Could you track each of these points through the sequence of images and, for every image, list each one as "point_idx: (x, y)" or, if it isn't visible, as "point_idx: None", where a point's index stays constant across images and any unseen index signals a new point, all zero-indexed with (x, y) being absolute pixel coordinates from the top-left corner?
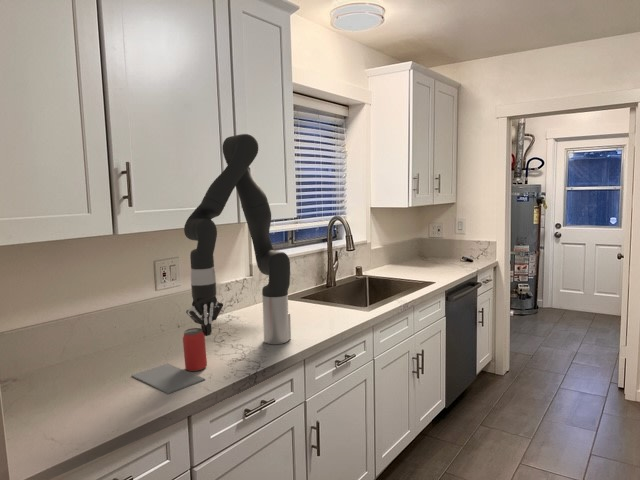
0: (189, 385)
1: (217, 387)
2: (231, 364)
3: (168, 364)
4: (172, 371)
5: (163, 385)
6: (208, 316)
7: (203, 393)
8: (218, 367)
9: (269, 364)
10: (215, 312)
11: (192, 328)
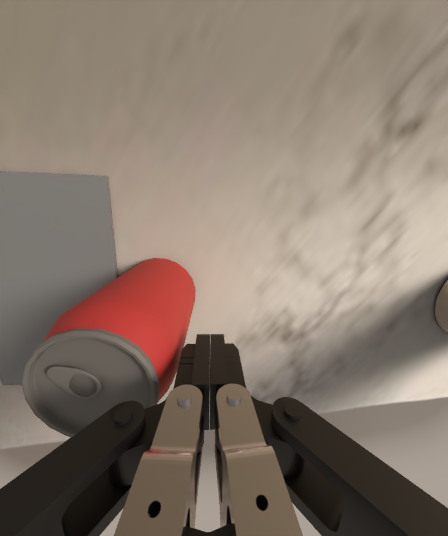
0: None
1: None
2: (246, 345)
3: (103, 191)
4: (81, 264)
5: (9, 337)
6: (220, 514)
7: None
8: None
9: None
10: (329, 534)
11: (116, 346)
